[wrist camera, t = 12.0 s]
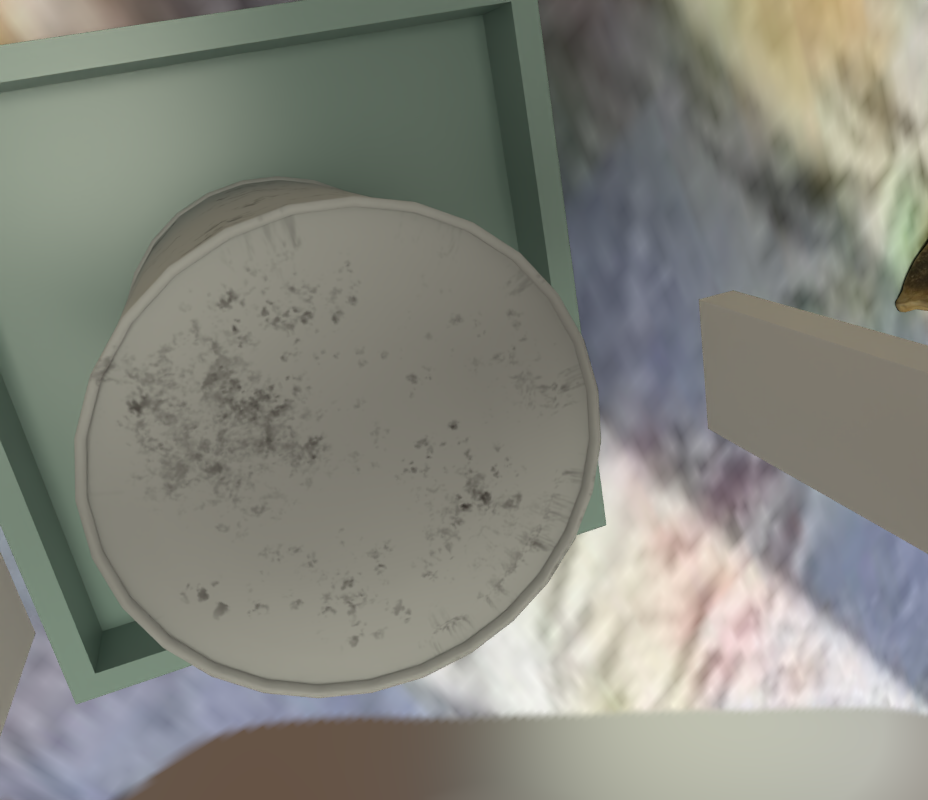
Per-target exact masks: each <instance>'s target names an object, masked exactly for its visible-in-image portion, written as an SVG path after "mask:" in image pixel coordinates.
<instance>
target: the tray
mask: <svg viewBox="0 0 928 800" xmlns="http://www.w3.org/2000/svg"><path fill="white" fill-rule="evenodd" d="M275 176H280V177H289V178H299V179H308V180H315V181H318V182H321V183H324V184H326V185H329V186H332V187H335V188H338V189H341V190H344V191H347V192H351V193H355V194H360V195H364V196H368V197H372V198H382V199H392V200H402V201H411V202H417V203H420V204H423V205H425V206H428V207H431V208H434V209H437V210H440V211H442V212H445V213H448V214H451V215H454V216H457V217H459V218H462V219H465V220H468V221H471V222H473V223H475V224H476V225H478V226H479V227H481V228H482V229H484V230H486V231H487V232H489V233H490V234H492V235H493V236H495V237H496V238H498V239H499V240H501V241H502V242H504V243H505V244H507V245H508V246H510V247H512V248H513V249H515V250H516V251H518V252H519V253H521V254H522V255H523V257H524V258H525V259H526V260H527V261H528V262H529V263H530V264H531V265H532V266H533V267H534V268H535V269H536V270H537V272H538V273H539V274H540V275H541V276H542V277H543V278H544V279H545V280H546V281H547V282H548V283H549V284H550V285H551V287H552V288H553V289H554V290H555V291H556V292H557V293H558V294H559V296H560V298H561V300H562V302H563V303H564V305H565V307H566V309H567V311H568V312H569V314H570V316H571V318H572V319H573V321H574V323H575V325H576V327H577V328H578V330H579V332H580V334H581V328H580V321H579V313H578V306H577V298H576V290H575V283H574V275H573V267H572V260H571V252H570V245H569V237H568V229H567V222H566V214H565V206H564V199H563V191H562V184H561V176H560V168H559V161H558V153H557V145H556V138H555V130H554V123H553V115H552V107H551V100H550V92H549V84H548V77H547V69H546V62H545V54H544V46H543V39H542V31H541V23H540V16H539V8H538V1H537V0H302V1H295V2H289V3H282V4H275V5H268V6H262V7H255V8H248V9H241V10H235V11H228V12H221V13H214V14H208V15H201V16H194V17H187V18H181V19H174V20H167V21H161V22H154V23H147V24H140V25H134V26H127V27H120V28H113V29H107V30H100V31H93V32H86V33H80V34H73V35H66V36H59V37H53V38H46V39H39V40H32V41H26V42H19V43H12V44H5V45H0V525H1V527H2V530H3V532H4V535H5V537H6V539H7V542H8V544H9V546H10V549H11V551H12V553H13V556H14V558H15V561H16V563H17V565H18V568H19V570H20V572H21V575H22V577H23V580H24V582H25V584H26V587H27V589H28V591H29V594H30V596H31V598H32V601H33V603H34V606H35V608H36V610H37V613H38V615H39V617H40V620H41V622H42V624H43V627H44V629H45V632H46V634H47V636H48V639H49V641H50V643H51V646H52V648H53V651H54V653H55V655H56V658H57V660H58V662H59V665H60V667H61V669H62V672H63V674H64V677H65V679H66V681H67V684H68V686H69V688H70V691H71V693H72V696H73V698H74V700H75V703H76V704H79V703H82V702H85V701H88V700H91V699H94V698H97V697H100V696H103V695H106V694H108V693H111V692H114V691H117V690H120V689H123V688H126V687H129V686H132V685H135V684H138V683H141V682H144V681H147V680H150V679H153V678H156V677H159V676H162V675H165V674H168V673H171V672H173V671H176V670H179V669H182V668H185V667H188V666H191V664H190V663H188V662H186V661H185V660H183V659H181V658H179V657H178V656H176V655H174V654H173V653H171V652H169V651H168V650H166V649H164V648H163V647H162V646H161V645H160V644H159V643H158V642H157V641H156V640H155V639H154V638H153V637H152V636H150V635H149V634H148V633H147V632H146V631H145V630H144V629H143V628H142V627H141V626H140V625H139V624H138V623H137V622H136V621H135V620H134V619H133V618H132V617H131V616H130V615H129V614H128V613H127V612H126V611H125V610H124V609H123V608H122V607H121V605H120V604H119V602H118V600H117V599H116V597H115V595H114V594H113V592H112V590H111V589H110V587H109V585H108V584H107V582H106V581H105V579H104V577H103V576H102V574H101V572H100V571H99V569H98V567H97V566H96V564H95V562H94V561H93V559H92V557H91V553H90V550H89V546H88V543H87V539H86V536H85V532H84V529H83V526H82V522H81V519H80V515H79V512H78V508H77V505H76V501H75V450H74V438H75V434H76V430H77V426H78V422H79V418H80V414H81V410H82V406H83V402H84V398H85V394H86V390H87V386H88V382H89V378H90V375H91V373H92V371H93V369H94V367H95V365H96V363H97V362H98V360H99V358H100V356H101V354H102V352H103V350H104V349H105V347H106V345H107V343H108V341H109V339H110V338H111V336H112V334H113V332H114V330H115V328H116V327H117V325H118V322H119V320H120V317H121V315H122V312H123V310H124V307H125V305H126V302H127V300H128V296H129V292H130V288H131V284H132V280H133V276H134V273H135V271H136V269H137V267H138V265H139V263H140V262H141V260H142V258H143V256H144V254H145V252H146V250H147V249H148V247H149V245H150V243H151V241H152V240H153V239H154V238H155V237H156V236H157V234H158V233H159V232H160V231H161V230H162V229H163V228H164V227H165V226H166V225H167V224H168V222H169V221H170V220H171V219H172V218H173V217H174V216H175V215H176V214H177V213H178V212H180V211H181V210H183V209H184V208H186V207H187V206H189V205H190V204H192V203H193V202H195V201H196V200H198V199H199V198H201V197H202V196H204V195H205V194H207V193H209V192H212V191H215V190H217V189H220V188H223V187H226V186H228V185H231V184H234V183H236V182H239V181H243V180H251V179H259V178H267V177H275ZM605 525H606V519H605V512H604V504H603V496H602V489H601V481H600V473H599V466H598V463H597V469H596V475H595V482H594V488H593V492H592V495H591V498H590V500H589V503H588V506H587V508H586V511H585V514H584V516H583V519H582V522H581V524H580V527H579V530H578V532H577V535H578V534H581V533H584V532H587V531H590V530H593V529H596V528H599V527H602V526H605Z"/></svg>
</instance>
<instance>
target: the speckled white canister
mask: <svg viewBox="0 0 928 800" xmlns="http://www.w3.org/2000/svg"><path fill="white" fill-rule="evenodd" d="M600 444H601V432H600V414H599V395H598V388H597V384H596V381H595V377H594V374H593V370H592V367H591V363H590V360H589V356H588V353H587V349H586V346H585V342H584V339H583V337H582V336H581V334H580V332H579V330H578V328H577V327H576V325H575V323H574V321H573V319H572V318H571V316H570V314H569V312H568V311H567V309H566V307H565V305H564V303H563V302H562V300H561V298H560V296H559V294H558V293H557V292H556V291H555V290H554V289H553V288H552V287H551V285H550V284H549V283H548V282H547V281H546V280H545V279H544V278H543V277H542V276H541V275H540V274H539V273H538V272H537V270H536V269H535V268H534V267H533V266H532V265H531V264H530V263H529V262H528V261H527V260H526V259H525V258H524V257H523V255H522V254H521V253H519V252H518V251H516V250H515V249H513V248H512V247H510V246H508V245H507V244H505V243H504V242H502V241H501V240H499V239H498V238H496V237H495V236H493V235H492V234H490V233H489V232H487V231H486V230H484V229H482V228H481V227H479V226H478V225H476V224H475V223H473V222H471V221H468V220H465V219H462V218H459V217H457V216H454V215H451V214H448V213H445V212H442V211H440V210H437V209H434V208H431V207H428V206H425V205H423V204H420V203H417V202H411V201H402V200H392V199H382V198H372V197H368V196H364V195H360V194H355V193H351V192H347V191H344V190H341V189H338V188H335V187H332V186H329V185H326V184H324V183H321V182H318V181H315V180H308V179H299V178H289V177H280V176H275V177H267V178H259V179H251V180H243V181H239V182H236V183H234V184H231V185H228V186H226V187H223V188H220V189H217V190H215V191H212V192H209V193H207V194H205V195H204V196H202V197H201V198H199V199H198V200H196V201H195V202H193V203H192V204H190V205H189V206H187V207H186V208H184V209H183V210H181V211H180V212H178V213H177V214H176V215H175V216H174V217H173V218H172V219H171V220H170V221H169V222H168V224H167V225H166V226H165V227H164V228H163V229H162V230H161V231H160V232H159V233H158V234H157V236H156V237H155V238H154V239H153V240H152V241H151V243H150V245H149V247H148V249H147V250H146V252H145V254H144V256H143V258H142V260H141V262H140V263H139V265H138V267H137V269H136V271H135V273H134V276H133V280H132V284H131V288H130V292H129V296H128V300H127V302H126V305H125V307H124V310H123V312H122V315H121V317H120V320H119V322H118V325H117V327H116V328H115V330H114V332H113V334H112V336H111V338H110V339H109V341H108V343H107V345H106V347H105V349H104V350H103V352H102V354H101V356H100V358H99V360H98V362H97V363H96V365H95V367H94V369H93V371H92V373H91V375H90V378H89V382H88V386H87V390H86V394H85V398H84V402H83V406H82V410H81V414H80V418H79V422H78V426H77V430H76V434H75V438H74V450H75V501H76V505H77V508H78V512H79V515H80V519H81V522H82V526H83V529H84V532H85V536H86V539H87V543H88V546H89V550H90V553H91V557H92V559H93V561H94V562H95V564H96V566H97V567H98V569H99V571H100V572H101V574H102V576H103V577H104V579H105V581H106V582H107V584H108V585H109V587H110V589H111V590H112V592H113V594H114V595H115V597H116V599H117V600H118V602H119V604H120V605H121V607H122V608H123V609H124V610H125V611H126V612H127V613H128V614H129V615H130V616H131V617H132V618H133V619H134V620H135V621H136V622H137V623H138V624H139V625H140V626H141V627H142V628H143V629H144V630H145V631H146V632H147V633H148V634H149V635H150V636H152V637H153V638H154V639H155V640H156V641H157V642H158V643H159V644H160V645H161V646H162V647H163V648H164V649H166V650H168V651H169V652H171V653H173V654H174V655H176V656H178V657H179V658H181V659H183V660H185V661H186V662H188V663H190V664H191V665H193V666H195V667H196V668H198V669H200V670H202V671H203V672H205V673H207V674H208V675H210V676H212V677H215V678H218V679H222V680H225V681H228V682H231V683H234V684H237V685H240V686H244V687H247V688H250V689H253V690H256V691H259V692H263V693H270V694H280V695H291V696H301V697H311V698H325V697H335V696H344V695H354V694H364V693H373V692H376V691H380V690H383V689H386V688H390V687H393V686H396V685H400V684H403V683H406V682H410V681H413V680H416V679H420V678H423V677H425V676H427V675H429V674H431V673H433V672H435V671H437V670H439V669H441V668H443V667H445V666H447V665H449V664H451V663H453V662H455V661H457V660H459V659H461V658H463V657H465V656H466V655H468V654H470V653H472V652H473V651H475V650H476V649H477V648H479V647H480V646H481V645H482V644H484V643H485V642H486V641H488V640H489V639H490V638H492V637H493V636H494V635H496V634H497V633H498V632H499V631H501V630H502V629H503V628H505V627H506V626H507V625H509V624H510V623H511V622H513V621H514V620H515V618H516V617H517V616H518V615H519V614H520V613H521V612H522V611H523V610H524V609H525V607H526V606H527V605H528V604H529V603H530V602H531V601H532V600H533V599H534V598H535V596H536V595H537V594H538V593H539V592H540V591H541V590H542V589H543V588H544V587H545V585H546V584H547V583H548V582H549V580H550V579H551V577H552V575H553V574H554V572H555V571H556V569H557V567H558V566H559V564H560V562H561V561H562V559H563V558H564V556H565V554H566V553H567V551H568V549H569V548H570V546H571V545H572V543H573V541H574V540H575V538H576V535H577V532H578V530H579V527H580V524H581V522H582V519H583V516H584V514H585V511H586V508H587V506H588V503H589V500H590V498H591V495H592V492H593V488H594V482H595V475H596V469H597V463H598V457H599V450H600Z"/></svg>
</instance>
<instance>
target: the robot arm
mask: <svg viewBox="0 0 928 800" xmlns="http://www.w3.org/2000/svg"><path fill="white" fill-rule="evenodd" d="M699 307H700V321H701V335H702V349H703V363H704V376H705V390H706V404H707V418H708V429H710V430H712V431H713V432H715V433H717V434H719V435H720V436H722V437H724V438H726V439H727V440H729V441H731V442H733V443H734V444H736V445H738V446H740V447H741V448H743V449H745V450H747V451H748V452H750V453H752V454H754V455H756V456H757V457H759V458H761V459H763V460H764V461H766V462H768V463H770V464H771V465H773V466H775V467H777V468H778V469H780V470H782V471H784V472H785V473H787V474H789V475H791V476H792V477H794V478H796V479H798V480H799V481H801V482H803V483H805V484H806V485H808V486H810V487H812V488H813V489H815V490H817V491H819V492H820V493H822V494H824V495H826V496H827V497H829V498H831V499H833V500H834V501H836V502H838V503H840V504H841V505H843V506H845V507H847V508H848V509H850V510H852V511H854V512H855V513H857V514H859V515H861V516H862V517H864V518H866V519H868V520H870V521H871V522H873V523H875V524H877V525H878V526H880V527H882V528H884V529H885V530H887V531H889V532H891V533H892V534H894V535H896V536H898V537H899V538H901V539H903V540H905V541H906V542H908V543H910V544H912V545H913V546H915V547H917V548H919V549H920V550H922V551H924V552H926V553H927V554H928V346H927V345H924V344H920V343H916V342H913V341H909V340H906V339H902V338H899V337H895V336H892V335H888V334H885V333H881V332H878V331H874V330H871V329H867V328H863V327H860V326H856V325H853V324H849V323H846V322H842V321H839V320H835V319H832V318H828V317H825V316H821V315H818V314H814V313H811V312H807V311H803V310H800V309H796V308H793V307H789V306H786V305H782V304H779V303H775V302H772V301H768V300H765V299H761V298H758V297H754V296H750V295H747V294H743V293H740V292H736V291H730V292H726V293H722V294H718V295H715V296H711V297H707V298H703V299H699ZM34 636H35V631H34V629H33V626H32V624H31V622H30V619H29V617H28V615H27V613H26V610H25V608H24V606H23V603H22V601H21V599H20V596H19V594H18V592H17V589H16V587H15V585H14V583H13V580H12V578H11V576H10V573H9V571H8V569H7V566H6V564H5V562H4V559H3V557H2V555H1V553H0V736H1V733H2V730H3V727H4V724H5V721H6V718H7V715H8V712H9V709H10V706H11V703H12V700H13V697H14V694H15V691H16V688H17V686H18V683H19V680H20V677H21V674H22V671H23V668H24V665H25V662H26V659H27V656H28V653H29V650H30V647H31V644H32V641H33V639H34Z"/></svg>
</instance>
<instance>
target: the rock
mask: <svg viewBox="0 0 928 800" xmlns="http://www.w3.org/2000/svg"><path fill="white" fill-rule="evenodd" d="M896 307H897V309H898V310H899V311H900V312H908V311H911V310H914V309H920V310H926V311H928V243H927V245H926V246H925V248H924V249H923V250H922V251H921V253H920V254H919V255H918V257H917V258H916V260H915V261H914V263H913V265H912V267H911V269H910V271H909V273H908V275H907V277H906V280H905V283H904V285H903V291H902V293H901V294H900V296H899V298H898V299H897V301H896Z"/></svg>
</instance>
